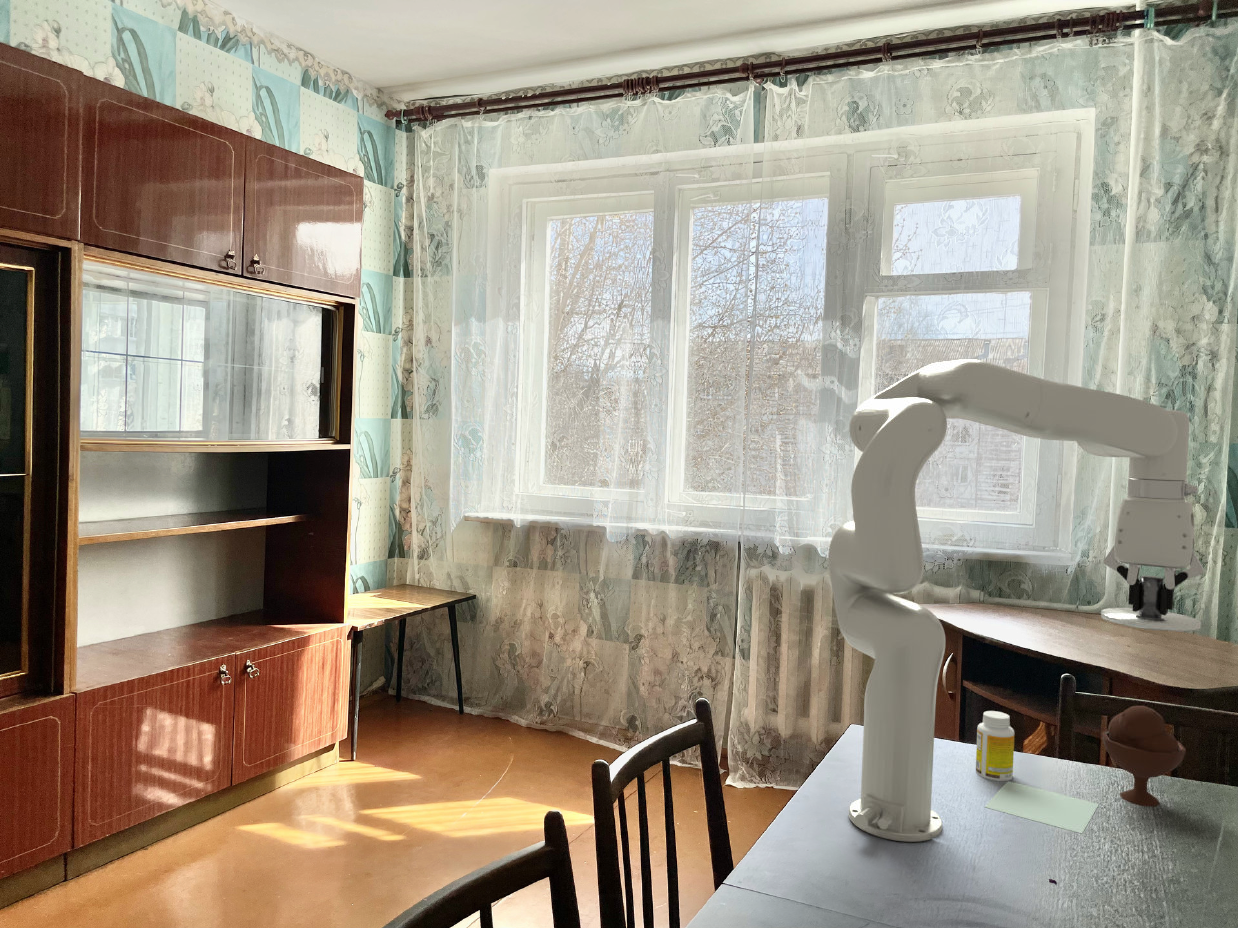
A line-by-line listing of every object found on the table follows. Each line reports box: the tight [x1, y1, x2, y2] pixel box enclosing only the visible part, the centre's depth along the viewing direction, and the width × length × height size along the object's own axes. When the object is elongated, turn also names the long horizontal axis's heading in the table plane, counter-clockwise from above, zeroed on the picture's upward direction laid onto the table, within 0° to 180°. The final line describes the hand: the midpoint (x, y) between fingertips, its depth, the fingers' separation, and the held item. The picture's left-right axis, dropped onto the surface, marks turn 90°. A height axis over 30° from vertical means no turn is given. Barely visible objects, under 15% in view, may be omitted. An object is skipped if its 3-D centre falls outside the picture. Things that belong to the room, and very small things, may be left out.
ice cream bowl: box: [1101, 705, 1187, 808], centre depth 135 cm, size 11×11×15 cm
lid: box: [1100, 575, 1202, 632], centre depth 134 cm, size 13×13×7 cm
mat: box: [984, 780, 1100, 835], centre depth 132 cm, size 13×13×1 cm
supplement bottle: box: [975, 710, 1015, 782], centre depth 143 cm, size 6×6×10 cm
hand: (1150, 610), depth 134 cm, fingers closed on lid, 3 cm apart
